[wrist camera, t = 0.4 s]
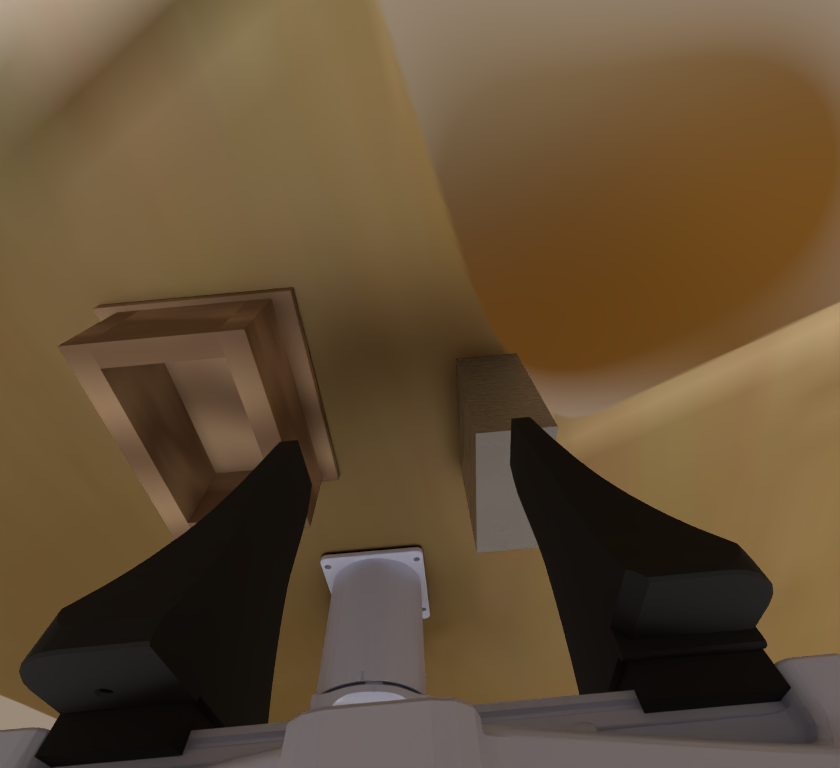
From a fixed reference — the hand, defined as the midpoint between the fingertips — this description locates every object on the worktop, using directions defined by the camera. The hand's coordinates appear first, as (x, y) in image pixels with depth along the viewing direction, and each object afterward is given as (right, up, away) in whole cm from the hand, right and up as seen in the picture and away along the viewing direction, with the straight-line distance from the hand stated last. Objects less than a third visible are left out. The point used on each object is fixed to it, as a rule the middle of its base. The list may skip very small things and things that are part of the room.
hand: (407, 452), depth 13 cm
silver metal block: (+5, 0, +12) cm, 12 cm away
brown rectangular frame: (-11, +1, +10) cm, 15 cm away
